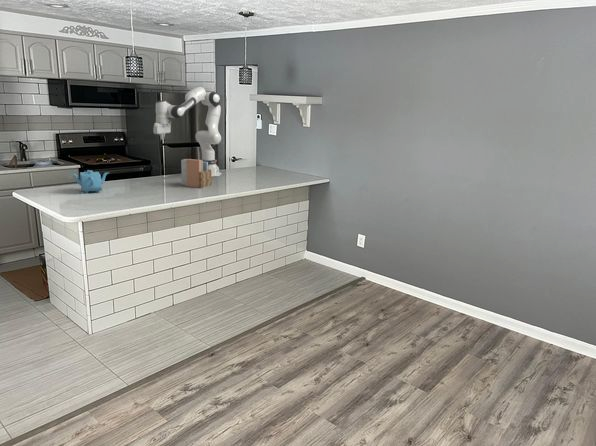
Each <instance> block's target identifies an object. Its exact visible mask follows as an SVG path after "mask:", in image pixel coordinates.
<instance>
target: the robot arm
mask: <svg viewBox="0 0 596 446" xmlns="http://www.w3.org/2000/svg"><path fill="white" fill-rule="evenodd" d="M184 96H185V97H184V100H185V101H184V102H183V103H182V104H180V105H173V104H170V103H169V102H168V101H166V100H164V99H163V100H157V101H156V102H155V122H154V124H153V130H152V131H153V134H154V135H159V137H160V140H165V138H166V137H165V135H166V134H170V133H171V127H172V125H171V124H172V121H171V120H169V119H168V118H173V119H177V120H180V119H182V118H183V117H184V116H185V114H186V113H187V112H188V111H189V110H190V109H192V108H193V107H194V106H195V105H197V104H198V103H199V104H201V105H203V106H208V110H207V114H206V118H205V123H204V124H205V125H206V126H207V130H198V131H196V133H195V140H196V142H198V144H199V145H200V146H199V147H200V149H201V160H203V162H208V167H209V169H211V178H212V177H220V176H221V175H222V172H220V167H219V166H218V165H217V159H215V158H216V156H215V155H216V153H215V150H214V149H213V147H212V145H219V144H220V143H221V141H222V135H221V134H220V132H219V123H220V118H221V113H222V107H221V105H220V104H221V96H220V94H219V93H218V92H216V91H207V92H206V89H205V88H204V87H202V86H198V87H195V88H193V89H191V90H189V91H188V92H187V93H186V94H185V95H184Z"/></svg>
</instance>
